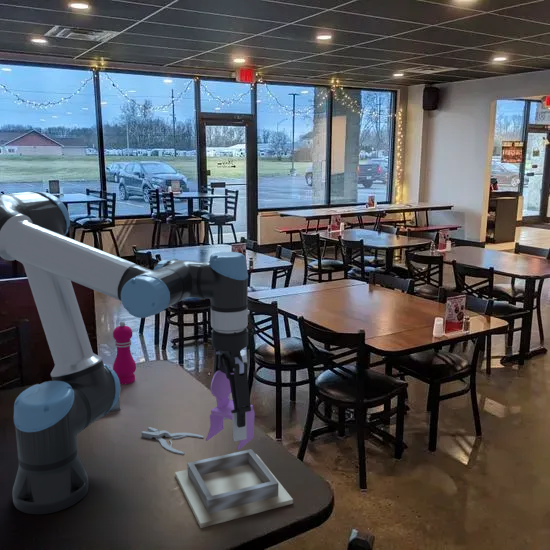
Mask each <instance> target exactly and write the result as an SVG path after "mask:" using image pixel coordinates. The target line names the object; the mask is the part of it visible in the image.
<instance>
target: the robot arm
mask: <svg viewBox="0 0 550 550" xmlns="http://www.w3.org/2000/svg"><path fill="white" fill-rule="evenodd" d="M70 227H71V218H70V214H69V211H68V209H67V207H66V205H65V204H64V202H63V201H62V200H61V199H60V198H59V197H57V196H55V195H54V194H52V193H49V192H45V191H36V190H35V191H34V190H31V191H25V192H24V191H23V192H16V193H15V192H13V193H4V194H0V259H2V260H5V261H10V262H11V261H15V260H16V261H18V262H19V263H21V264H22V266H23V267H24V272H25V274H26V277H27V280H28V284H29V287H30V290H31V294H32V296H33V300H34V303H35V306H36V308H37V312H38V315H39V319H40V321H41V325H42V328H43V331H44V334H45V337H46V342H47V345H48V347H49V350H50V354H51V356H52V359H53V363H54V367H53V369H52V371H51V372H50V377H51V380H48V381H43V382H42V383H40V384H39V383H36V384H33V385H32V386H29V387H27V388H26V389H24V390H23V391H22V392H20V393H19V395H18V396H17V397H16V398H15V401H14V403H13V404H14V405H13V417H12V418H13V424H14V433H15V440H16V441H15V442H16V449H17V458H18V459H17V461H18V469H17V472H16V476H15V480H14V483H13V487H12V503H13V506H14V507H15V509H17V510H18V511H20V512H22V513H25V514H29V515H47V514H53V513H57V512H60V511H63V510H66V509H68V508H71V507H72V506H74V505H75V504H77V503H78V502H81V500H82V499H83V498H85V496H86V495H87V493H88V491H89V477H88V474H87V471H86V469H85V467H84V464H83V462H82V461H81V459H80V457H79V454H78V441H77V440H78V439H77V435H79V434H80V433H82V432H83V431H84V430H85V429H87V428H88V427H90V425H92V424H93V423H95V422H96V421H97V420H99V419H101V418H103V417H105V416H106V415H107V414H108V413H109V411H110V409H112V408H113V407H114V406H115V404H116V403H117V401H118V399H119V397H120V395H121V384H120V381H119V378H118V376H117V374H116V373H115V371H114V370H113V369H111V367H110V365H108V364H106V363H104V361H103V357H102V356H100V355H97V354H96V353H94V352H93V349H92V348H93V347H92V346H91V342H90V339H89V335H88V332H87V328H86V325H85V323H84V320H83V316H82V313H81V309H80V306H79V303H78V300H77V296H76V294H75V290H74V287H73V283H76V284H79V285H81V286H84V287H86V288H89V289H90V290H94V291H96V292H98V293H101V294H103V295H104V296H105V295H106V296H108V297H111V298H113V299H116V300H118V301H120V302H121V303H122V306H123V308H124V309H125V310H126V311H127V312H128V314H129V315H130V316H133V317H134V318H139V319H145V318H148V317H151V316H156V315H157V314H160V313H161V312H163V311H165V310H166V309H168V308H170V307H172V306H174V305H175V304H177V303H179V302H181V301H183V300H185V299H189V298H193V299H194V298H195V299H209V300H210V327H211V328H212V330H210V332H211V346H212V348H214V359H213V360H214V361H213V362H214V363H213V376H214V374H215V373H216V372H217V371H219V370H220V371H221V372H223V373H225V374H226V377H227V379H229V381H230V387H231V393H230V394H229V395H228V399H230V398H231V397H232V399H230V400H233V404H234V410H232V411H231V413H233V420H232V441H233V442H238V441H239V442H240V440H244V439H247V432H246V412H249V411H251V405H252V404H251V397H250V387H249V376H248V371H249V368H248V367H249V364H248V362H247V361H246V362H245V361H243V357H242V355H241V352H242V350H244V349H246V348H248V346H249V329H248V328H247V327H248V326H249V325H248V322H249V319H248V318H249V315H250V310H249V309H248V296H249V295H248V285H249V283H248V282H249V280H248V279H249V274H248V264H247V262H248V261H247V257H246V255H244V254H243V253H241V252H236V251H219V252H214V253H212V254H211V255H210V257H209V261H194V260H193V261H192V260H181V259H177V258H175V259H163V260H160V261H158V262H157V263H156V266H154V268H153V269H150V268H147V267H144V266H142V265H139V264H136V263H134V262H132V261H129V260H127V259H125V258H121V257H120V256H117V255H113V254H111V253H110V252H106V251H103V250H101V249H99V248H96V247H94V246H91V245H88V244H86V243H83V242H81V241H78V240H76V239H73V238H70V237H68V236H67V234H68V233H69V228H70ZM72 282H73V283H72ZM231 373H233V374H231ZM230 395H231V397H230ZM110 412H111V411H110ZM224 420H229V419H228V418H225V417H224V418H223V421H224Z"/></svg>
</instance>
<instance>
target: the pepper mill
mask: <svg viewBox="0 0 550 550" xmlns="http://www.w3.org/2000/svg"><path fill="white" fill-rule="evenodd" d="M118 324H119V325H118V326H116V327H115V328H114V329H113V331H112V337H113V339H114V340H115V341H114V345H115V347H116V356H115V359H114V362H113V363H112V364H113V365H112V370H114V371H115V373H116V374H117V376H118V378H119V381H120V385H130V384H133V383H135V381H136V374H135V372H136V370H137V365H136V361H135V359H134V358H133V355H132V353H131V345H132V337H133V330H132V328H131V327H130V326H128V325H126V322H125V321H123V320H122V321H119V323H118Z"/></svg>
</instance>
